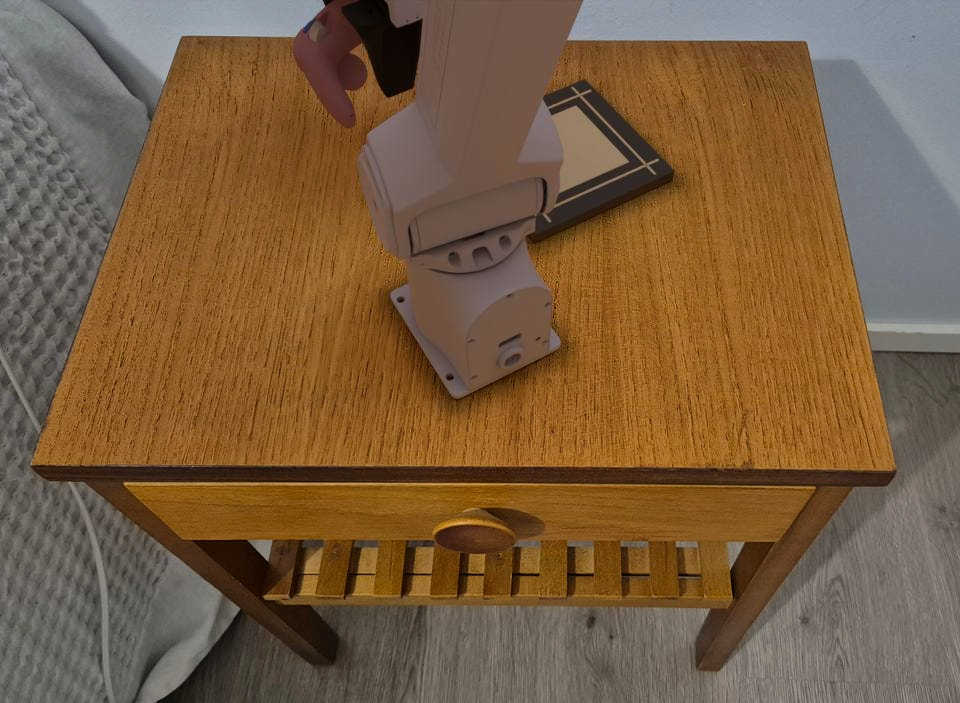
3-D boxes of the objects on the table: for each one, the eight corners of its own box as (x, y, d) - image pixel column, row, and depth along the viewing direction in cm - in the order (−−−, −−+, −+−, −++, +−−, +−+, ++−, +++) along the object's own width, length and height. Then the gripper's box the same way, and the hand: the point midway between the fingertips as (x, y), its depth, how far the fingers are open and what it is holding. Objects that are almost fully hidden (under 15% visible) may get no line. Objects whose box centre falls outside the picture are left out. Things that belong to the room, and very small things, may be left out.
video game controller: (420, 61, 60) (386, -35, 56) (458, 66, 57) (424, -36, 53) (315, 126, 57) (270, 28, 53) (349, 135, 54) (303, 32, 49)
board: (672, 180, 60) (675, 169, 59) (534, 243, 57) (534, 233, 56) (584, 88, 66) (585, 77, 65) (454, 142, 63) (453, 131, 62)
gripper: (226, -182, 47) (281, 25, 58) (327, -64, 40) (368, 145, 51) (337, -214, 49) (370, -7, 60) (453, -106, 42) (465, 105, 53)
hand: (375, 61), depth 56 cm, fingers closed on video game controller, 6 cm apart
